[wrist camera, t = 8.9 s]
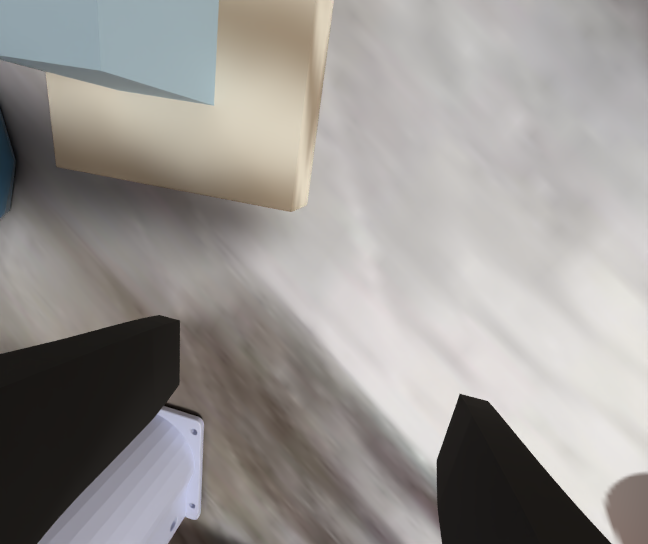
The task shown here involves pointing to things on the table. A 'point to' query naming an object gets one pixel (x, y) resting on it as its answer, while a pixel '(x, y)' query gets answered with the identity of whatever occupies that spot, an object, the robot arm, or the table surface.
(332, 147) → the table surface
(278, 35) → the plinth
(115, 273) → the table surface
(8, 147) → the wine bottle
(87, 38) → the block
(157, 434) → the robot arm
